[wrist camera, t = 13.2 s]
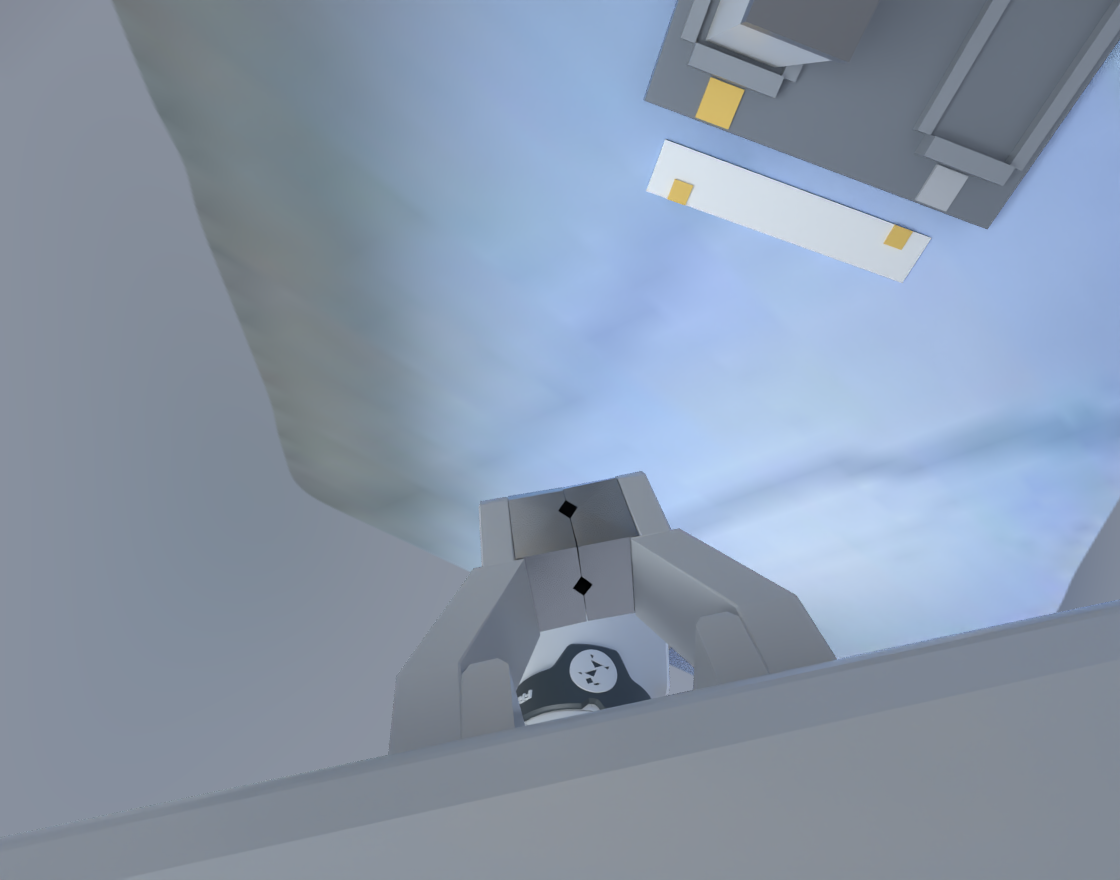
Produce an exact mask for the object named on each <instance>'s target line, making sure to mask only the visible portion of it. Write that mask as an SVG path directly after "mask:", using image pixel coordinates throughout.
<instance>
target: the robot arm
mask: <svg viewBox="0 0 1120 880" xmlns="http://www.w3.org/2000/svg"><path fill="white" fill-rule="evenodd" d="M479 521H480V540H481V560H482V567H478V568H474V569H473V570H472V571H471V573H470V574H469V576H468V577H467V578H466V580H465V581H464V583H463V584H462V585H461V587H460V588H459V590H458V591H457V592H456V594H455V595H454V597H453V598H452V599H451V601H450V602H449V604H448V605H447V606H446V608H445V609H444V611H443V612H442V613H441V615H440V616H439V618H438V619H437V620H436V622H435V623H434V624H433V626H432V627H431V629H430V630H429V631H428V633H427V634H426V636H425V637H424V638H423V640H422V641H421V643H420V644H419V646H418V647H417V648H416V650H415V651H414V652H413V654H412V655H411V657H410V658H409V659H408V661H407V662H406V664H405V665H404V666H403V668H402V669H401V671H400V672H399V673H398V675H397V676H396V684H395V694H394V704H393V714H392V723H391V733H390V743H389V752H388V755H385V756H381V757H376V758H371V759H366V760H361V761H357V762H352V763H347V764H343V765H338V766H333V767H329V768H324V769H319V770H314V771H310V772H305V773H300V774H296V775H291V776H286V777H282V778H277V779H273V780H267V781H263V782H258V783H253V784H249V785H244V786H240V787H234V788H230V789H225V790H220V791H216V792H211V793H207V794H202V795H197V796H192V797H188V798H183V799H178V800H173V801H169V802H164V803H159V804H154V805H150V806H145V807H140V808H136V809H131V810H126V811H122V812H117V813H112V814H108V815H103V816H98V817H93V818H89V819H84V820H79V821H75V822H70V823H65V824H60V825H56V826H51V827H46V828H42V829H37V830H32V831H28V832H23V833H18V834H14V835H9V836H4V837H0V880H1120V600H1115V601H1110V602H1105V603H1101V604H1097V605H1092V606H1087V607H1082V608H1077V609H1072V610H1068V611H1063V612H1058V613H1054V614H1049V615H1044V616H1039V617H1035V618H1030V619H1025V620H1021V621H1016V622H1011V623H1006V624H1002V625H997V626H992V627H988V628H983V629H978V630H973V631H969V632H964V633H959V634H954V635H950V636H945V637H940V638H936V639H931V640H926V641H921V642H917V643H912V644H907V645H903V646H898V647H893V648H888V649H884V650H879V651H874V652H870V653H865V654H860V655H855V656H851V657H846V658H841V659H837V658H836V657H835V655H834V654H833V652H832V650H831V649H830V647H829V646H828V644H827V643H826V641H825V639H824V638H823V636H822V635H821V633H820V632H819V630H818V628H817V627H816V625H815V624H814V622H813V621H812V619H811V617H810V616H809V614H808V613H807V611H806V610H805V608H804V606H803V605H802V603H801V602H800V600H799V599H798V597H797V596H796V595H795V594H793V593H791V592H789V591H788V590H786V589H784V588H782V587H781V586H779V585H777V584H775V583H774V582H772V581H770V580H769V579H767V578H765V577H763V576H762V575H760V574H758V573H756V572H755V571H753V570H751V569H749V568H748V567H746V566H744V565H742V564H741V563H739V562H737V561H735V560H734V559H732V558H730V557H728V556H727V555H725V554H723V553H721V552H720V551H718V550H716V549H714V548H713V547H711V546H709V545H707V544H706V543H704V542H702V541H700V540H699V539H697V538H695V537H694V536H692V535H690V534H688V533H687V532H685V531H683V530H681V529H674V530H671V528H670V526H669V524H668V521H667V519H666V517H665V515H664V513H663V511H662V509H661V506H660V504H659V502H658V500H657V498H656V496H655V494H654V491H653V489H652V487H651V485H650V483H649V481H648V479H647V476H646V474H645V473H644V472H642V471H639V472H634V473H630V474H625V475H620V476H616V477H615V478H609V479H604V480H599V481H593V482H588V483H583V484H578V485H573V486H567V487H561V488H555V489H549V490H543V491H537V492H531V493H525V494H519V495H513V496H508V497H503V498H497V499H491V500H485V501H480V504H479ZM670 648H673V649H674V650H675V651H676V652H677V653H678V654H679V655H680V656H681V657H683V658H684V659H685V660H686V661H687V662H688V663H689V664H690V665H691V666H692V667H694V685H693V690H692V691H687V692H682V693H677V694H673V695H668V694H669V690H670V676H669V675H670V674H669V649H670ZM667 695H668V696H667Z"/></svg>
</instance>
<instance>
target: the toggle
mask: <svg viewBox="0 0 1120 880" xmlns="http://www.w3.org/2000/svg"><path fill="white" fill-rule="evenodd" d="M879 1H880V0H720V2H719V5H718V8H717V11H716V13H715V16H714V19H713V21H712V24H711V27H710V29H709V32H708V35H707V37H706V41H708V42H711V43H713V44H716V45H718V46H721V47H724V48H726V49H729V50H731V51H734V52H736V53H739V54H741V55H744V56H746V57H749V58H752V59H754V60H757V61H759V62H762V63H764V64H767V65H769V66H772V67H782V66H791V65H799V64H807V63H816V62H824V61H834V62H837V63H839V64H841V63H849V61H850V59H851V57H852V55H853V53H854V51H855V49H856V47H857V45H858V43H859V41H860V39H861V37H862V35H863V33H864V31H865V29H866V27H867V25H868V23H869V21H870V19H871V17H872V15H873V13H874V11H875V9H876V7H877V5H878V3H879Z"/></svg>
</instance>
